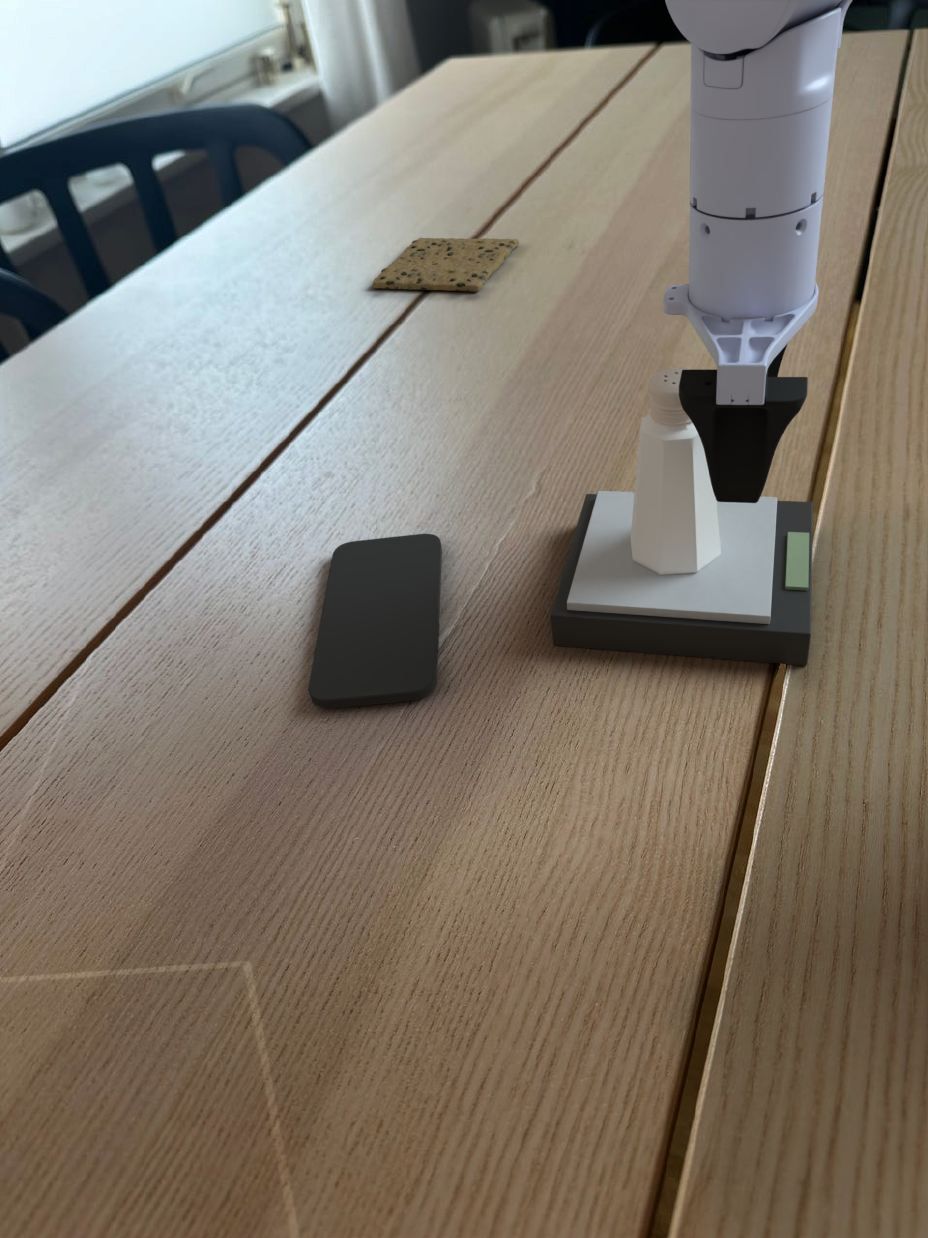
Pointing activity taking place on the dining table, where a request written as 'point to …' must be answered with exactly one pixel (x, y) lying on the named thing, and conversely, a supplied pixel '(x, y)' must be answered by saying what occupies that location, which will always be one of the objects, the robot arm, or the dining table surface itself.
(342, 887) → the dining table surface
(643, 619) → the scale
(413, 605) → the phone
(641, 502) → the pepper shaker
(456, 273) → the cookie
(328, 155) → the dining table surface
